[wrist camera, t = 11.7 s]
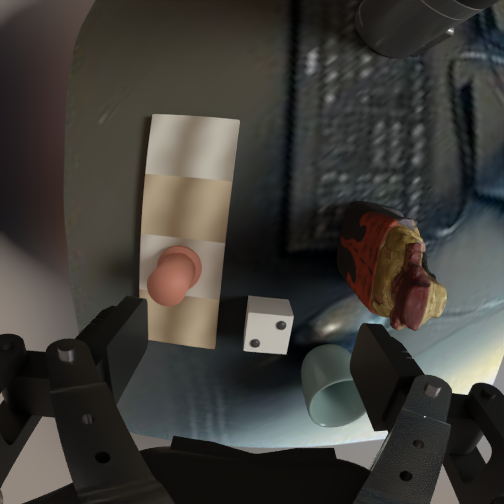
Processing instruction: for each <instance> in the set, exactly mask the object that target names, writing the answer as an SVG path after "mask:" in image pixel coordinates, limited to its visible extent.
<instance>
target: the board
mask: <svg viewBox="0 0 504 504" xmlns="http://www.w3.org/2000/svg"><path fill="white" fill-rule="evenodd" d="M239 124H240V120H234V119H224V118H213V117H200V116H184V115H162V114H153V115H152V122H151V130H150V137H149V145H148V154H147V163H146V172H145V183H144V195H143V208H142V224H141V244H140V283H139V298H145V299H147V303H148V339H149V340H154V341H160V342H167V343H173V344H180V345H187V346H194V347H201V348H209V349H215V344H216V332H217V321H218V310H219V300H220V289H221V279H222V270H223V260H224V250H225V241H226V232H227V223H228V214H229V205H230V197H231V188H232V180H233V171H234V163H235V155H236V147H237V140H238V132H239ZM178 245H179V246H186V247H188V248H190V249H192V250H193V251H194V252H195V253H196V254H197V255H198V256H199V258H200V261H201V264H202V272H201V275H200V278H199V280H198V282H197V283H196V284H195V285H194V286H193V287H192V288H190V289H188V290H187V292H186V295H185V297H184V298H183V300H182V301H181V302H180V303H178V304H177V305H174V306H162V305H160V304H158V303H156V302H155V301H154V300H153V299H152V298H151V297H150V295H149V293H148V290H147V280H148V277H149V276H150V274H151V273H152V272H153V271H154V270H155V269H156V268H157V262H158V260H159V258H160V256H161V255H162V254H163V253H164V252H165V251H166V250H167V249H168V248H170V247H173V246H178Z"/></svg>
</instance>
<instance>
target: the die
mask: <svg viewBox="0 0 504 504" xmlns="http://www.w3.org/2000/svg"><path fill="white" fill-rule="evenodd" d="M293 317H294V316H293V313H292V310H291V306H290V303H289V300H286V299H276V298H266V297H256V296H248V303H247V311H246V319H245V327H244V351H250V352H261V353H274V354H286V353H287V348H288V343H289V338H290V333H291V328H292V323H293Z"/></svg>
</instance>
